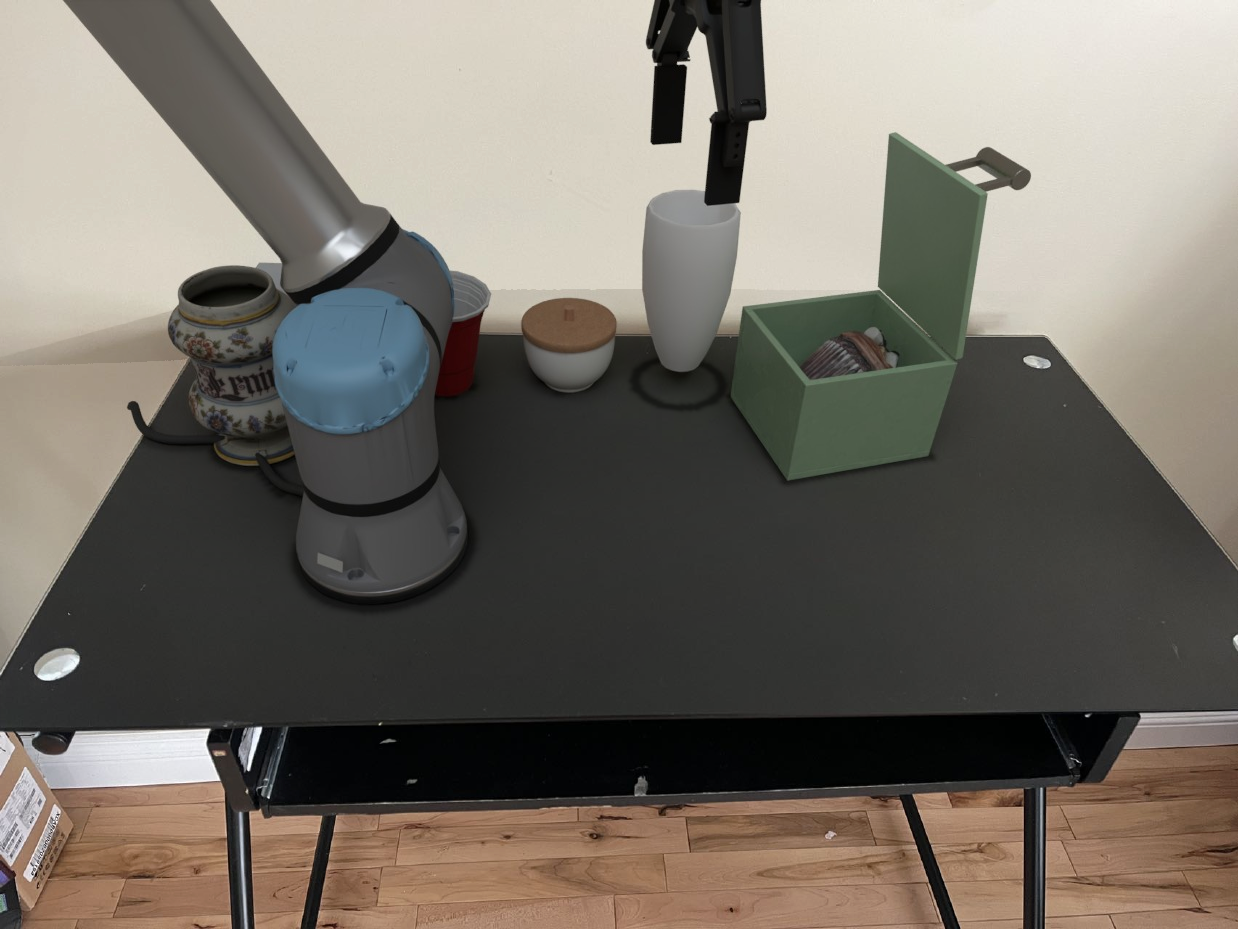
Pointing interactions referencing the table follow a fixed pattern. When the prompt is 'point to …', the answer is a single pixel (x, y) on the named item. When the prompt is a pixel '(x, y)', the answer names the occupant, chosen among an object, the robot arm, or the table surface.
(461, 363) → the plastic cup
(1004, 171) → the green box lid
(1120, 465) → the table surface
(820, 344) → the green open box
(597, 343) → the white bowl with lid
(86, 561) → the table surface
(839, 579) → the table surface
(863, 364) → the cupcake
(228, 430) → the apothecary jar
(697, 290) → the cup
